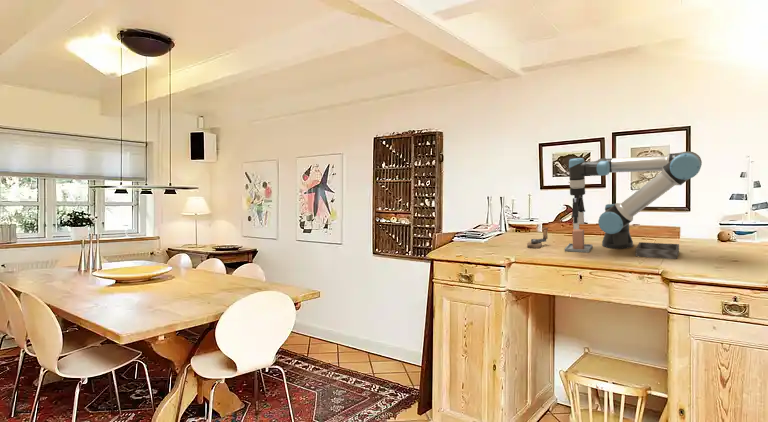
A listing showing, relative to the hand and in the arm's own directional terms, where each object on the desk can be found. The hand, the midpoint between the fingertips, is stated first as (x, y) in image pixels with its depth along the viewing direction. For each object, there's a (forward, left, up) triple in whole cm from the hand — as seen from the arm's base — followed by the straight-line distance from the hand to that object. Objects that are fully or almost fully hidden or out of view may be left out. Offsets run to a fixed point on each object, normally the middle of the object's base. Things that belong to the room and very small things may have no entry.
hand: (578, 226), depth 259 cm
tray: (0, 0, -13) cm, 13 cm away
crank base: (+22, -10, -13) cm, 28 cm away
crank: (+19, -11, -10) cm, 24 cm away
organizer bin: (-34, +15, -13) cm, 39 cm away
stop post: (0, 0, -12) cm, 12 cm away
